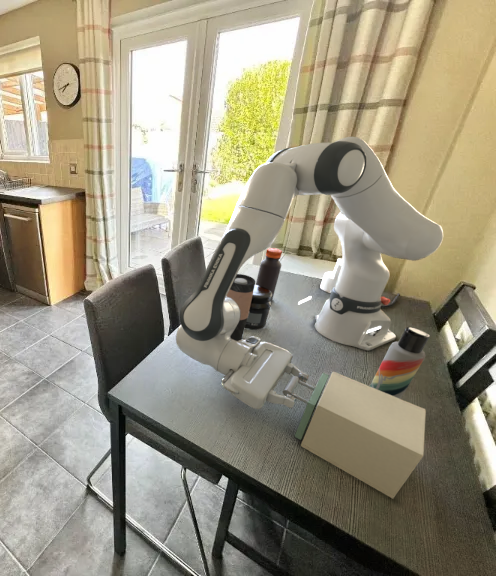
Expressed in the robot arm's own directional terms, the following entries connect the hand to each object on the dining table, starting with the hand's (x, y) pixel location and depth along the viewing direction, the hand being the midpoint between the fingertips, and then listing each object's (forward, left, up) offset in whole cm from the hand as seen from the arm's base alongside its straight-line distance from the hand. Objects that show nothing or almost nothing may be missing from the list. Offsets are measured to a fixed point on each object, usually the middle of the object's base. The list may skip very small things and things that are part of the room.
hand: (301, 391), depth 65 cm
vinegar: (-30, -50, -8) cm, 58 cm away
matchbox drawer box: (-6, +9, -8) cm, 13 cm away
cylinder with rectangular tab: (-64, -51, -8) cm, 82 cm away
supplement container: (-15, -37, -8) cm, 40 cm away
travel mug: (-4, -31, -8) cm, 32 cm away
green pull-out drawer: (-3, +5, -7) cm, 10 cm away
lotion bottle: (-25, 0, -8) cm, 26 cm away
